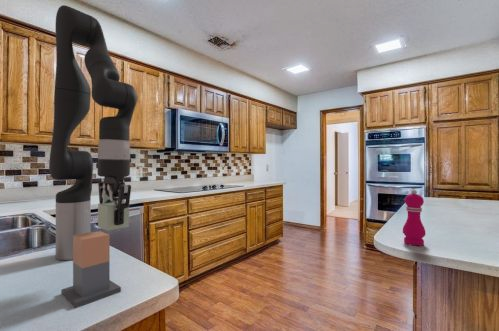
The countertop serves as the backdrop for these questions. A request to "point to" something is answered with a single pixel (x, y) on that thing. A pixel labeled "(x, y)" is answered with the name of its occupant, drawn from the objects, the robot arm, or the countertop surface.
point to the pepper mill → (414, 220)
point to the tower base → (89, 297)
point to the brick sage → (110, 217)
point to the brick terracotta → (91, 248)
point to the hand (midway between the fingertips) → (113, 222)
